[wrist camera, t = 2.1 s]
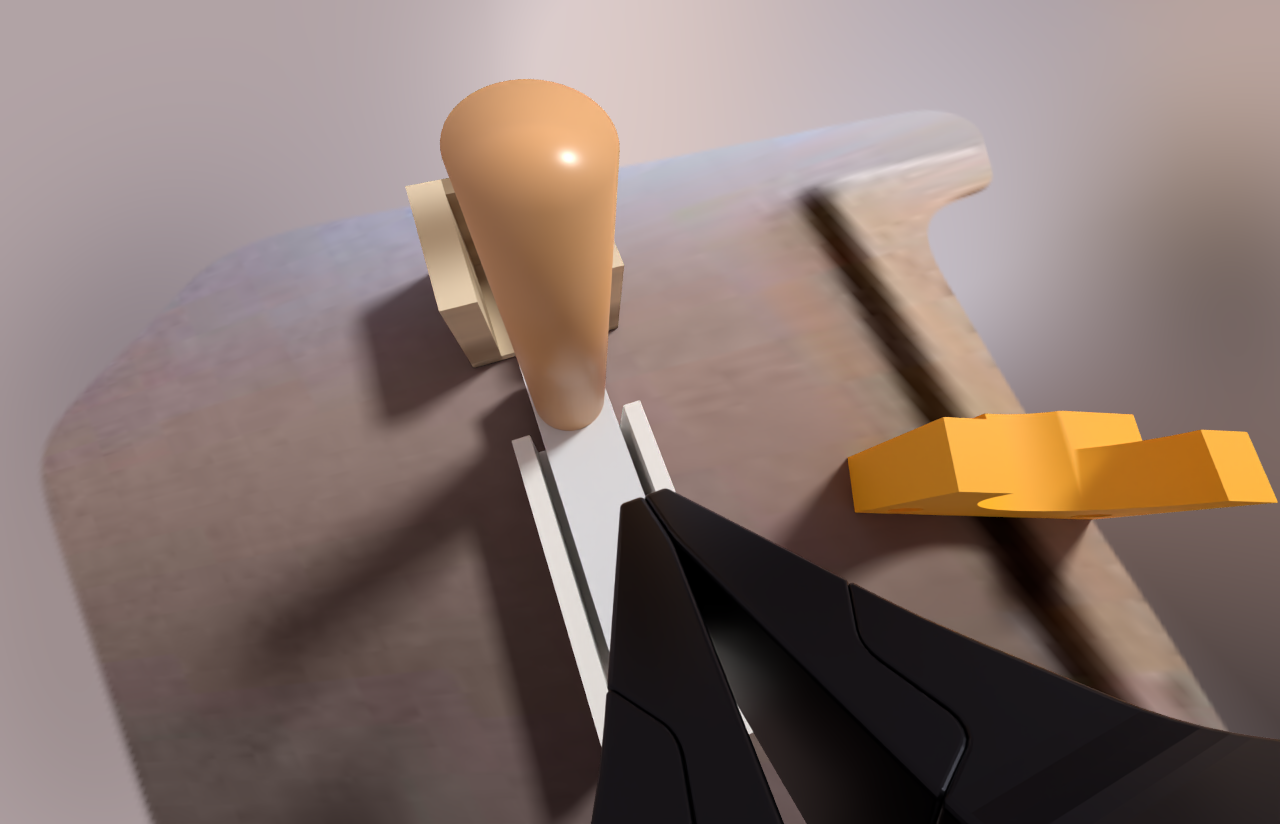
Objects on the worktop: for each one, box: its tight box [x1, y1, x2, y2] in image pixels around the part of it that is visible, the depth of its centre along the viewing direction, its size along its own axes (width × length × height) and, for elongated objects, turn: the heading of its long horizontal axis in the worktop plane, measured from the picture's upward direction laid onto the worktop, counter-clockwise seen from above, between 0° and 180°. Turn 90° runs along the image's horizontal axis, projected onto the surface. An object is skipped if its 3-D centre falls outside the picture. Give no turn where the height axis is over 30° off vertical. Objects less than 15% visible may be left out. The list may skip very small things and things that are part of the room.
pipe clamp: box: [848, 411, 1277, 520], centre depth 19 cm, size 12×4×6 cm, turn 89°
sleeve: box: [512, 400, 753, 747], centre depth 17 cm, size 12×5×3 cm, turn 20°
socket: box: [406, 178, 624, 368], centre depth 20 cm, size 6×7×5 cm
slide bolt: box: [440, 79, 645, 652], centre depth 13 cm, size 12×3×14 cm, turn 20°
